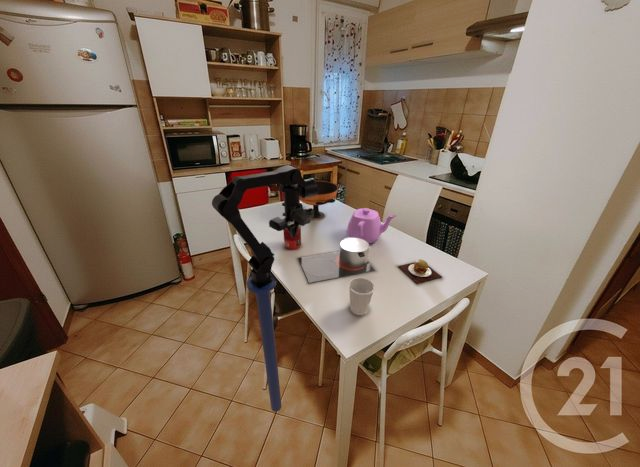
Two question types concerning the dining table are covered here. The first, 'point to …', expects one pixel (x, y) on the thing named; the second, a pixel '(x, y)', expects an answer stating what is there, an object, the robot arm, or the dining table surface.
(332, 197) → the orange pedestal bowl
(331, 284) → the dining table surface
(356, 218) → the teapot
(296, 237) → the canned food
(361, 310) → the dixie cup
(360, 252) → the pot
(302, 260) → the hob
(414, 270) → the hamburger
